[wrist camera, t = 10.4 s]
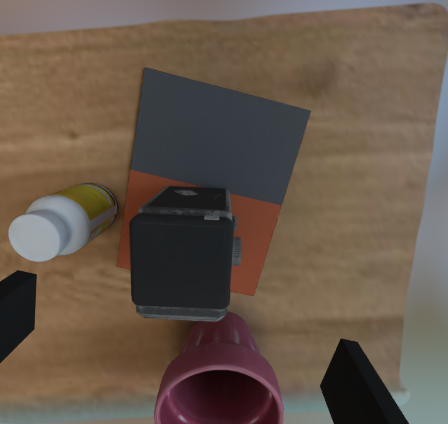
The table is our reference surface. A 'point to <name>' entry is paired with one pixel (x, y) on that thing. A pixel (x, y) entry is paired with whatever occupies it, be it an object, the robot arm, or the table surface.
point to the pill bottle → (62, 222)
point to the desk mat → (215, 158)
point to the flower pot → (219, 379)
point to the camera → (184, 254)
